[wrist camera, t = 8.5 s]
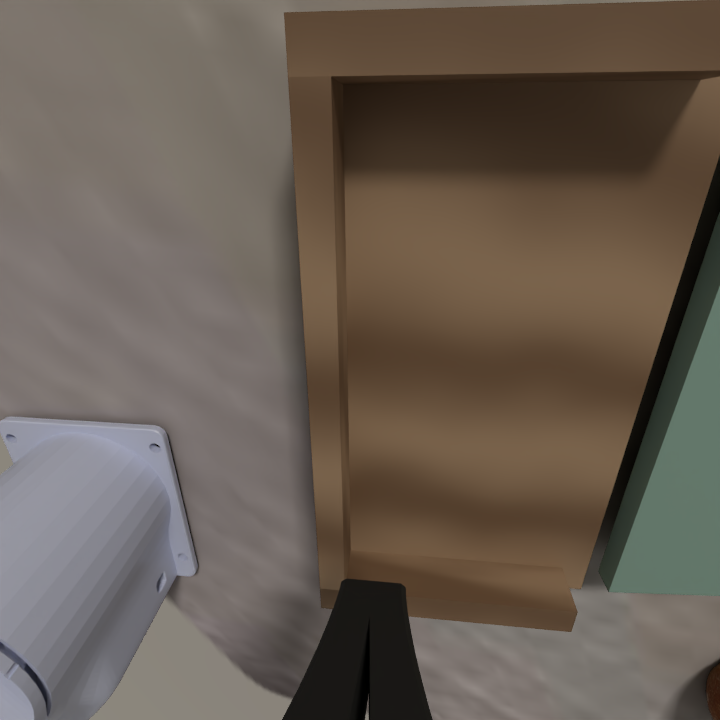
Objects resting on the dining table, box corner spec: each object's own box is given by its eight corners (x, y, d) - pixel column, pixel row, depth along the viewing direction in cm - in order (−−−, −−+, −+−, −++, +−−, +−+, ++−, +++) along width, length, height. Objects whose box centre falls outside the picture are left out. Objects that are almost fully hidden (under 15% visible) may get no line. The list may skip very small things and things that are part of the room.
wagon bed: (566, 551, 21) (597, 634, 18) (335, 532, 22) (321, 607, 19) (712, 36, 12) (833, -4, 9) (317, 44, 13) (284, 12, 10)
